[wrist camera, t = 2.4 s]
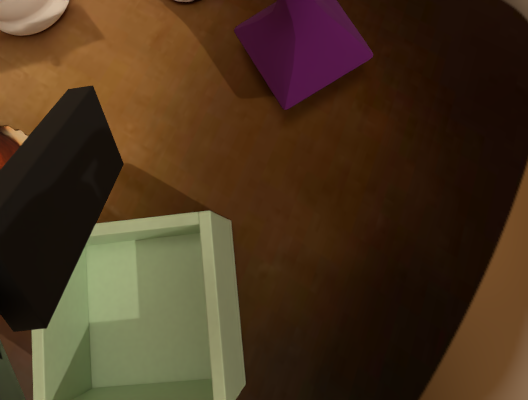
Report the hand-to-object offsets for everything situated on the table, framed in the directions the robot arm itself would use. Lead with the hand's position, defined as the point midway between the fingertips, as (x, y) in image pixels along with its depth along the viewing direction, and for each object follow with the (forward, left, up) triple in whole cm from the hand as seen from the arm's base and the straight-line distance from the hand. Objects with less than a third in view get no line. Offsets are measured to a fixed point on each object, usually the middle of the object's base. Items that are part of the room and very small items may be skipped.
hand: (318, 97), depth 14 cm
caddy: (+13, +7, -22) cm, 27 cm away
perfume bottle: (0, -11, -22) cm, 25 cm away
